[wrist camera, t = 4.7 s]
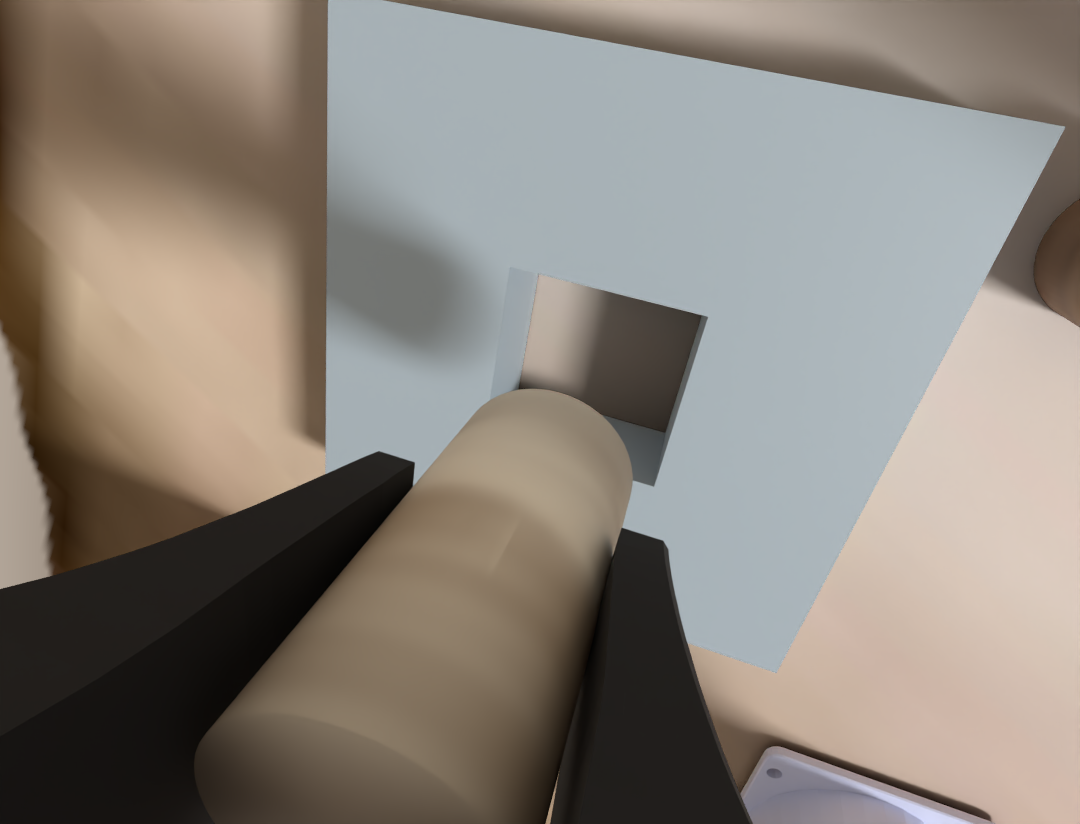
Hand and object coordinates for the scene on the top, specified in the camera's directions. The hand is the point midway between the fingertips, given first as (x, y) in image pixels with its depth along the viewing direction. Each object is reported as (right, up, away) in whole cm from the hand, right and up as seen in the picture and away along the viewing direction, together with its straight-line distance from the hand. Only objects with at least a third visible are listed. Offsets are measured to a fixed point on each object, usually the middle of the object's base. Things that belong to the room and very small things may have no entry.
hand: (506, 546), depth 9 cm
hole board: (+2, +4, +8) cm, 9 cm away
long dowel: (+1, +1, +2) cm, 2 cm away
